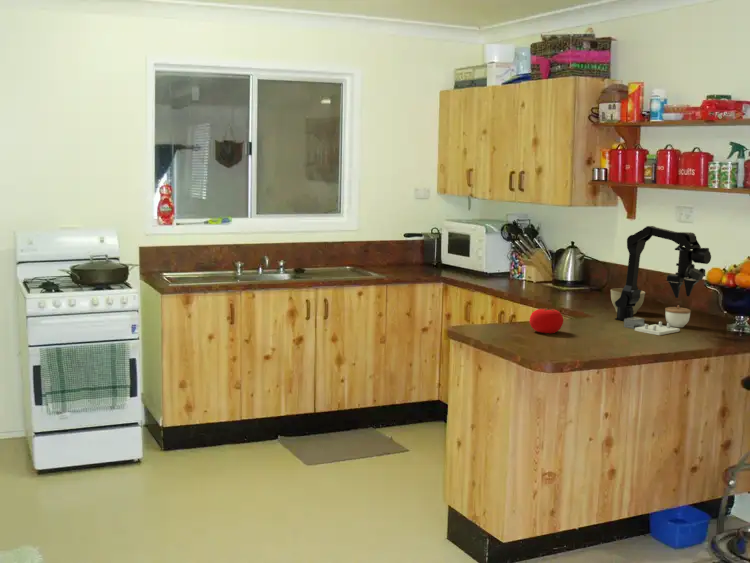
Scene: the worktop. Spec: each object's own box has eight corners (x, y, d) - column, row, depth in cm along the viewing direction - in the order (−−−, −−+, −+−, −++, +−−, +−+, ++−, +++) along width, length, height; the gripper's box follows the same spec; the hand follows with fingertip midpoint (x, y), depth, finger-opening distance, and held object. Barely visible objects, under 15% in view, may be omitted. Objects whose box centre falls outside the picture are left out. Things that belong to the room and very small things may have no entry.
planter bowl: (636, 317, 429) (637, 294, 428) (603, 312, 439) (605, 290, 438) (648, 313, 442) (650, 291, 441) (616, 309, 452) (618, 287, 450)
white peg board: (634, 330, 395) (635, 323, 394) (655, 326, 405) (655, 319, 405) (659, 335, 386) (659, 327, 385) (679, 331, 396) (680, 324, 396)
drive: (623, 327, 402) (624, 318, 402) (634, 325, 408) (634, 316, 407) (633, 329, 399) (634, 319, 398) (643, 327, 404) (644, 318, 403)
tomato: (536, 335, 375) (538, 310, 374) (523, 329, 388) (525, 305, 386) (568, 335, 379) (570, 310, 378) (554, 329, 392) (556, 305, 390)
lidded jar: (673, 328, 403) (674, 307, 402) (659, 324, 413) (661, 303, 412) (694, 328, 406) (695, 307, 404) (680, 323, 416) (681, 303, 415)
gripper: (690, 264, 383) (687, 301, 385) (713, 262, 395) (710, 298, 397) (667, 261, 392) (664, 297, 394) (690, 259, 404) (687, 294, 406)
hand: (682, 297), depth 397 cm, fingers open, 9 cm apart
